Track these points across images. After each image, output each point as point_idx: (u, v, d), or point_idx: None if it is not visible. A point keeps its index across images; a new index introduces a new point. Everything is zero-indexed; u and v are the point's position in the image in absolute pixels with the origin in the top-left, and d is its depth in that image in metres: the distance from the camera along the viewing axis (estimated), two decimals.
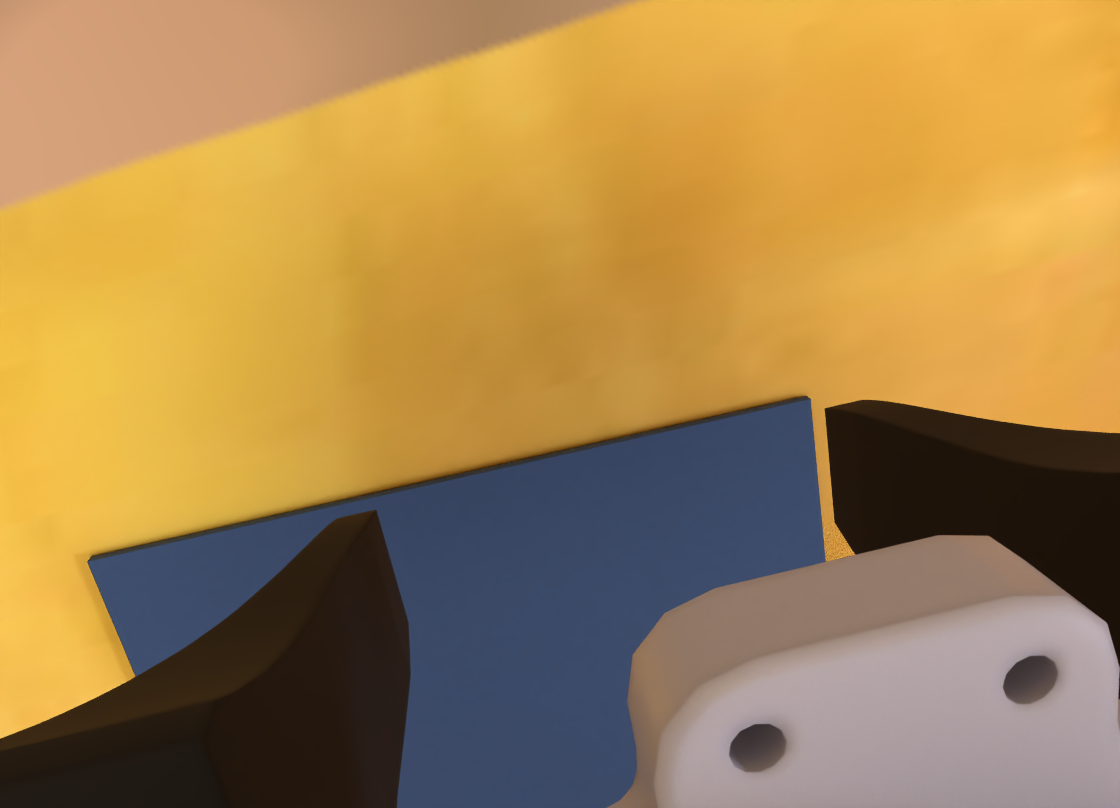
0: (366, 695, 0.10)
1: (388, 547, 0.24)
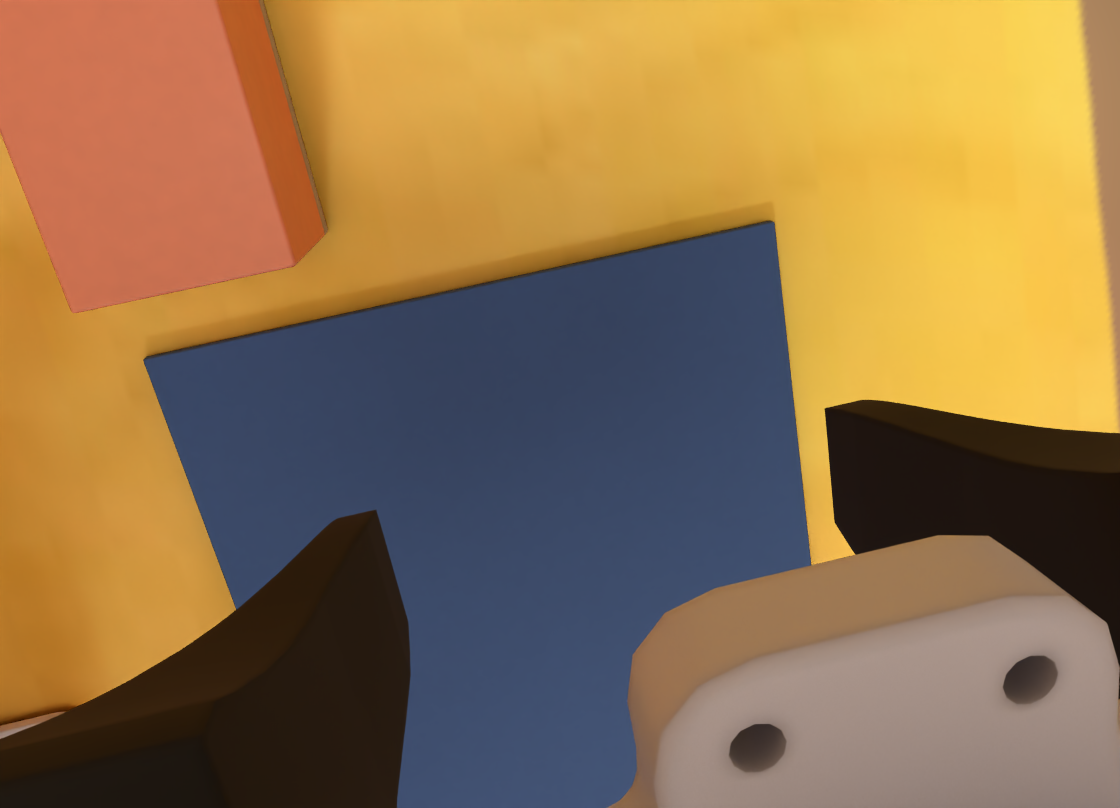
0: (367, 694, 0.10)
1: (751, 503, 0.24)
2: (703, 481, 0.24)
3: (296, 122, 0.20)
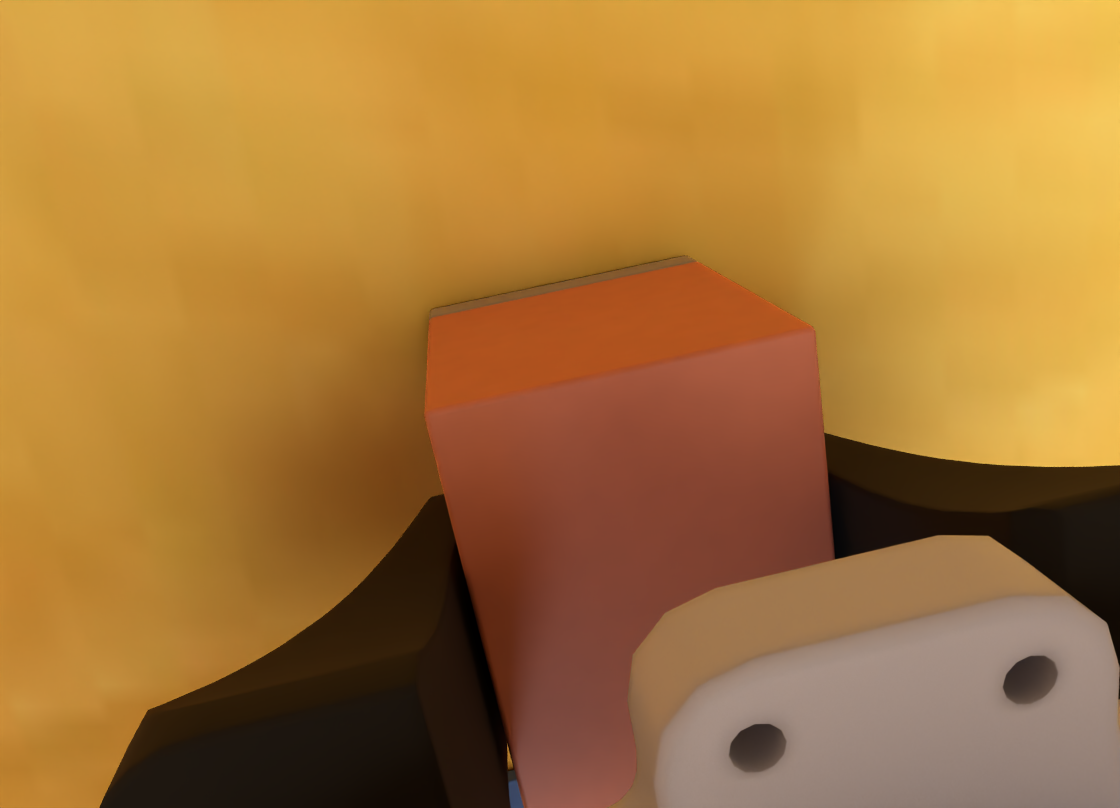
0: (482, 667, 0.11)
1: None
2: None
3: None
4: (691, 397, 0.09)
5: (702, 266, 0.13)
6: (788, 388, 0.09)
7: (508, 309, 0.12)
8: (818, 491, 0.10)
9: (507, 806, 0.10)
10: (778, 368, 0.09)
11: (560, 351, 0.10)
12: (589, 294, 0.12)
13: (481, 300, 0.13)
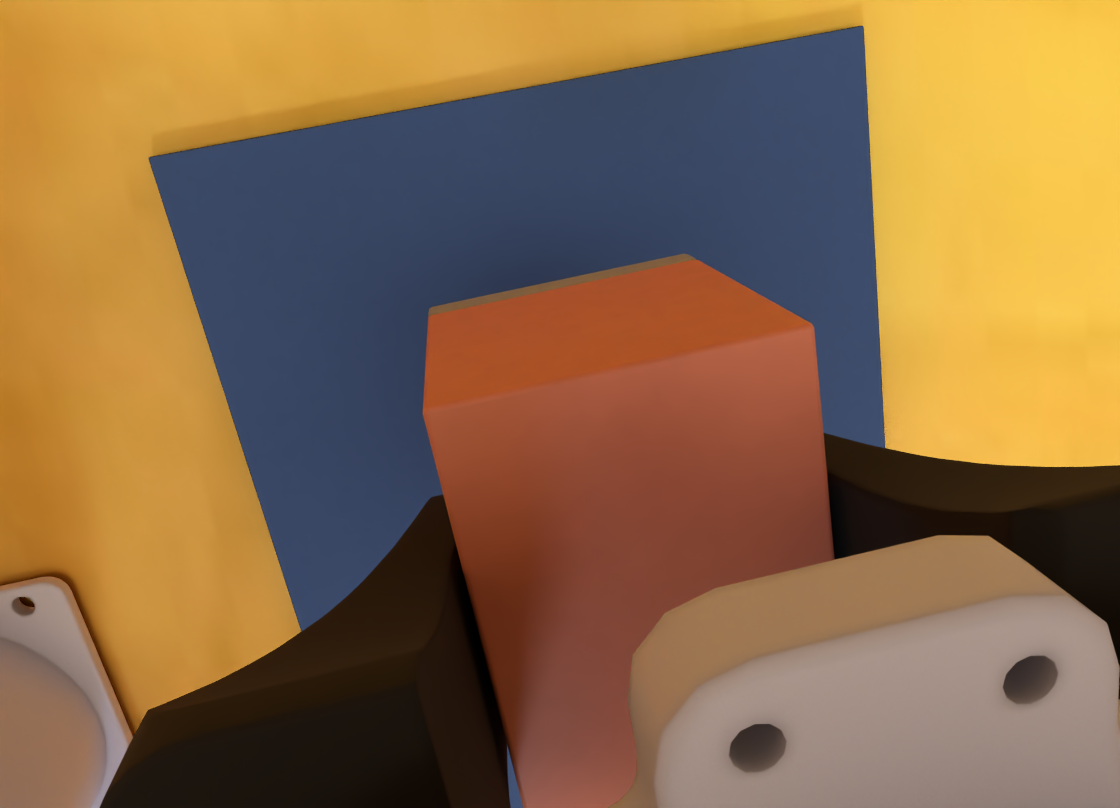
0: (482, 667, 0.11)
1: (822, 361, 0.22)
2: None
3: None
4: (690, 395, 0.09)
5: (701, 264, 0.13)
6: (787, 385, 0.09)
7: (507, 307, 0.12)
8: (817, 488, 0.10)
9: (507, 806, 0.10)
10: (777, 365, 0.09)
11: (558, 349, 0.10)
12: (588, 292, 0.12)
13: (480, 298, 0.13)
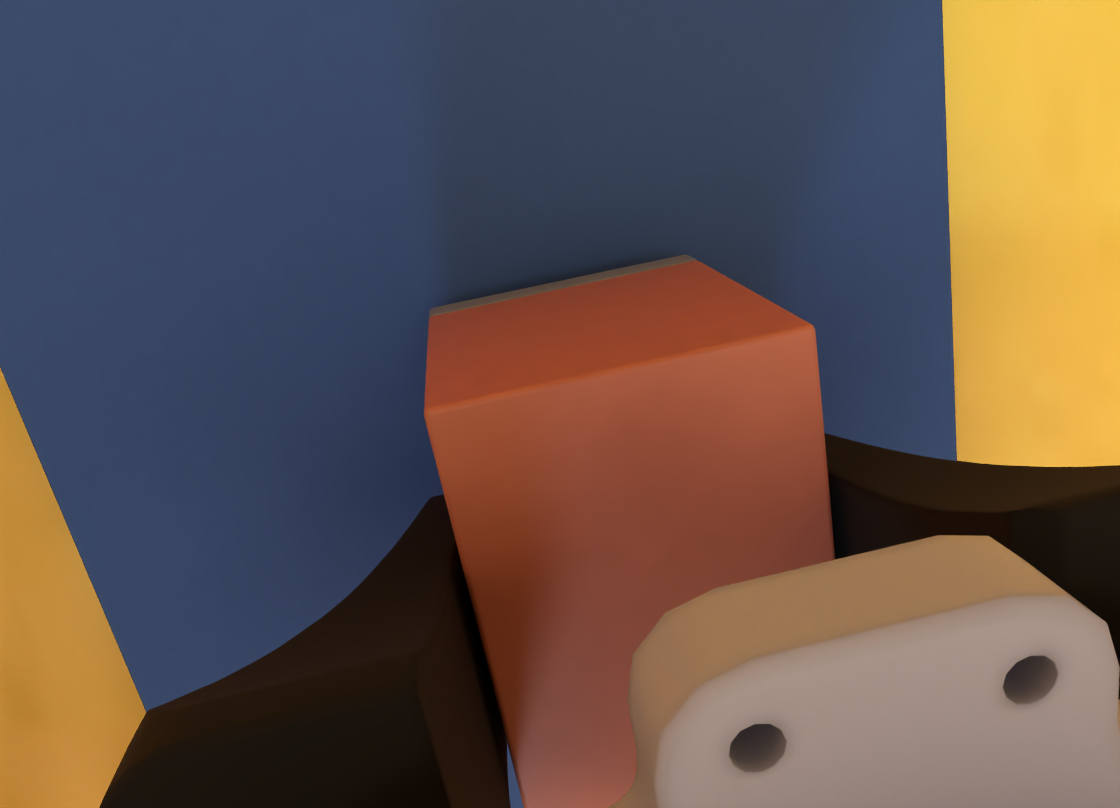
0: (482, 667, 0.11)
1: (867, 273, 0.15)
2: (794, 229, 0.15)
3: None
4: (692, 396, 0.09)
5: (702, 265, 0.13)
6: (788, 386, 0.09)
7: (508, 308, 0.12)
8: (818, 490, 0.10)
9: (507, 806, 0.10)
10: (778, 366, 0.09)
11: (560, 349, 0.10)
12: (589, 293, 0.12)
13: (481, 299, 0.13)
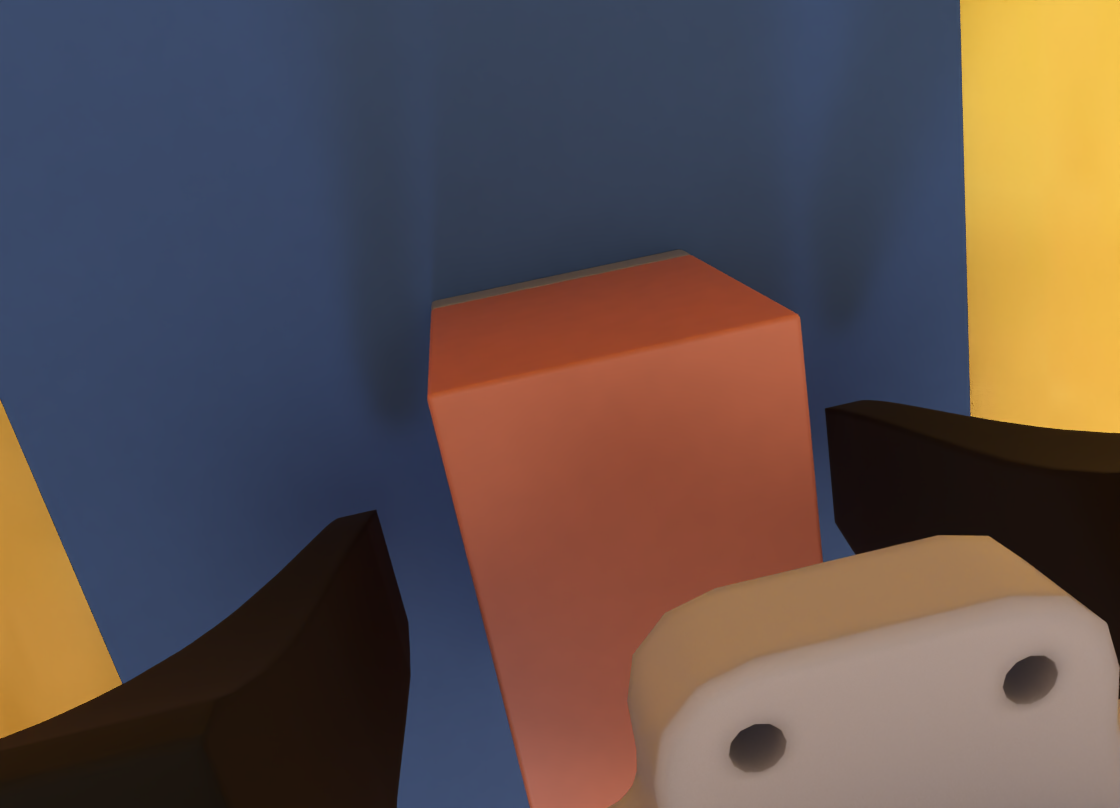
0: (367, 694, 0.10)
1: (881, 277, 0.15)
2: (807, 232, 0.14)
3: None
4: (683, 382, 0.10)
5: (695, 259, 0.13)
6: (775, 373, 0.10)
7: (507, 300, 0.13)
8: (804, 472, 0.10)
9: None
10: (765, 354, 0.10)
11: (556, 338, 0.10)
12: (586, 286, 0.13)
13: (481, 292, 0.14)
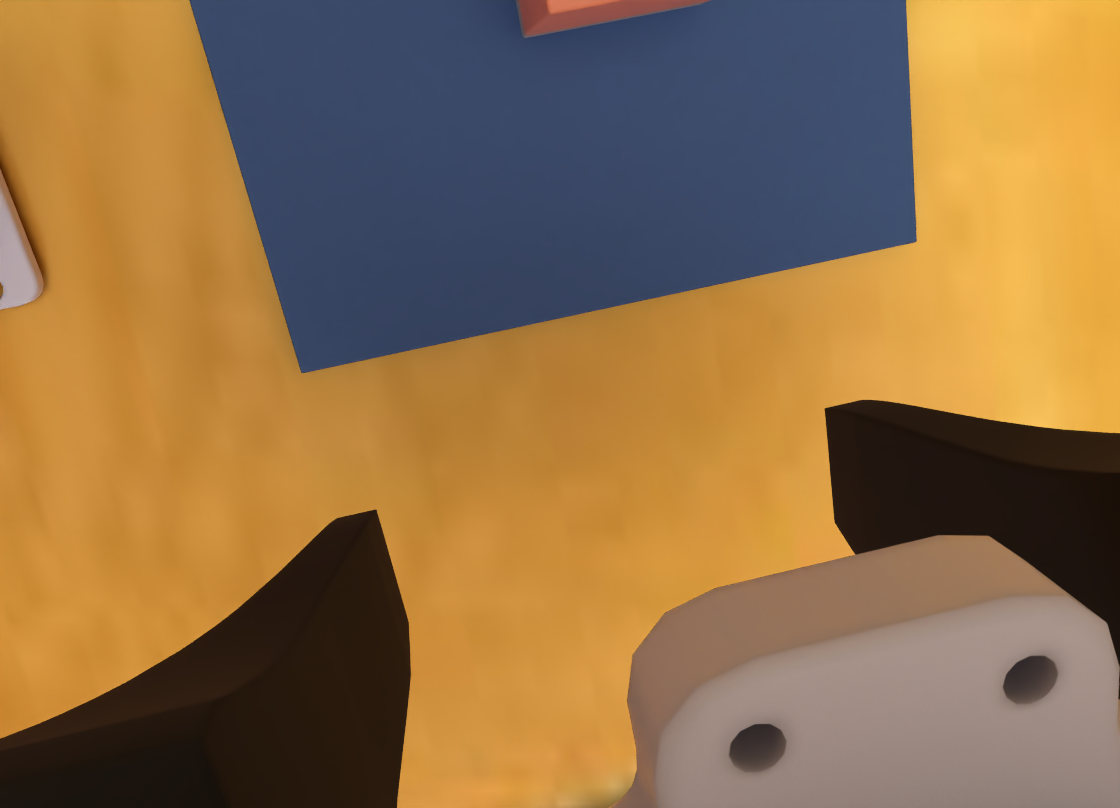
0: (366, 694, 0.10)
1: None
2: None
3: None
4: None
5: None
6: None
7: None
8: None
9: None
10: None
11: None
12: None
13: None
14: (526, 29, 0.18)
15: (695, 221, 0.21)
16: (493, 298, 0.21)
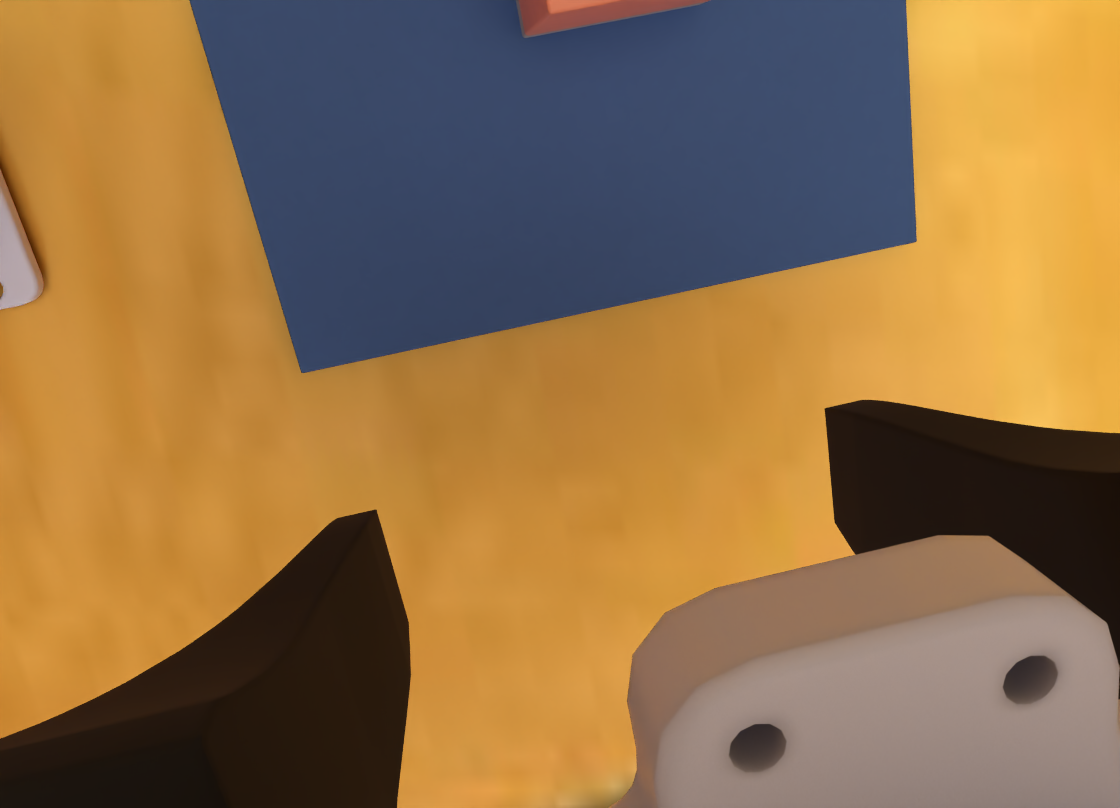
0: (366, 694, 0.10)
1: None
2: None
3: None
4: None
5: None
6: None
7: None
8: None
9: None
10: None
11: None
12: None
13: None
14: (526, 29, 0.18)
15: (695, 221, 0.21)
16: (493, 298, 0.21)
